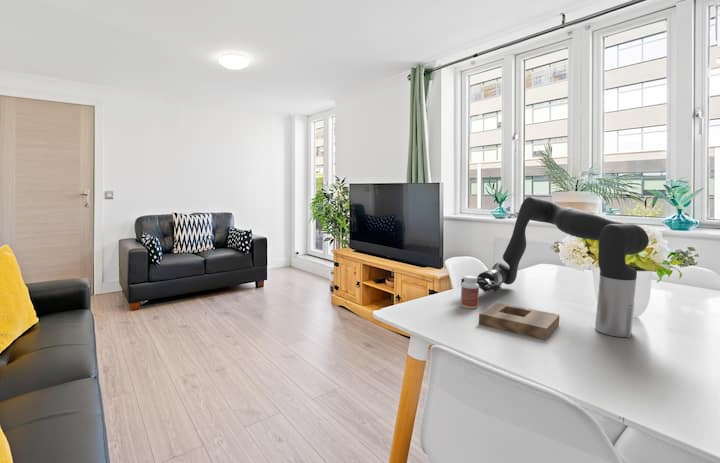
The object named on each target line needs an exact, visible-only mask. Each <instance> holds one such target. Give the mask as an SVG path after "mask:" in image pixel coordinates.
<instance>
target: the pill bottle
mask: <svg viewBox="0 0 720 463" xmlns="http://www.w3.org/2000/svg"><path fill="white" fill-rule="evenodd" d="M477 277H478V276H475V275H464V276H463V278H464V282H463V283H462V286H461V288H460V289H461V291H460V306H461V307H462V308H465V309H470V310H471V309H476V308H478V307H479V294H480V288H479V285H478V283H476V282H477Z"/></svg>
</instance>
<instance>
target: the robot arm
mask: <svg viewBox="0 0 720 463" xmlns="http://www.w3.org/2000/svg"><path fill="white" fill-rule="evenodd" d="M530 221H532V222H538V223H545V224H546V223H547V224H550V225H554V226H556V228H557V229H558V230H560V231H561V233H562V232H563V233H565V234H567V235H570V236H572V237H575V238H578V239H585V240H592V241H598V255H597V256H598V258H597V262H598V263H597V264H598V268H599V280H598V291H597V292H598V293H597V304H596V314H595V315H596V316H595V325H594V326H595V327H594V328H595V329H594V330H596V331H597V332H599V333H601V334H604V335H607V336H612V337H616V338H617V337H618V338H631V335H632V330H633V321H634V320H633V319H634V312H635V311H634V310H635V296H636V285H637V278H638V276H637V274H638V271H637V269H636V268H634V267H632V266H630V265H628V264H627V263H626V256H627V255H629V256H630V255H635V254H639V253H642V252H643V251H645V250H646V249H647V248H648V246H649V243H650V241H649V240H650V239H649V235H648V234H647V232H646V230H644V228H642V226H640V225H638V224H634V223H633V224H632V223H627V222H626V223H625V222H621V221H615V220H611V219H608V218H605V217H602V216H599V215H597V214H593V213H590V212H587V211H584V210H581V209H578V208H574V207H568V206H567V207H566V206H560V205H559V204H556V203H554V202H552V201H550V200H548V199H546V198H539V197H535V196H528V197H526V198H524V200H523V201H522V202H521V205H520V208H519V210H518V214H517V217H516V221H515V224H514V227H513V231H512V234H511V237H510V240H509V242H508V244H507V246H506V248H505V251H504V252H503V254H502V260H503V261H504V262H505V263H506V264H507V265H506V264H504V263H502V262H495V264H493V266H492V268H491V269H488V270H485V271H483V272H481V273H479V274H478V275H477V276H476V277H477V282H476V283H478V285H479V290H482V291H483V293H487V292H492V291H494V292H498V291H500V290H502V284H505V285H508V286H509V285H512V284H514V283H515V281H516V279H517V276H518V275H517V274H518V269H519V264H520V261H521V260H522V257H523V256H524V254H525V252H526V248H527V239H526V238H527V237H526V230H527V226H528V224H529V223H530ZM463 282H464V277H463V278H461V284H460V285H461V286H462V283H463Z"/></svg>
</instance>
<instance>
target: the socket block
mask: <svg viewBox="0 0 720 463" xmlns="http://www.w3.org/2000/svg"><path fill="white" fill-rule="evenodd" d="M478 325H480V326H484V327H489V328H493V329H498V330H502V331H506V332H510V333H514V334H519V335H521V336H522V335H523V336H526V337H531V338H535V339H538V340H539V339H540V340H543V341H547V340H548V339H549V338H550V337H551V335H552V334H553V333H554V332H555V330H557V328H558V327H559V325H560V314H557V313H553V312H552V313H551V312H548V311H543V310H542V311H541V310H538V309H531V308H527V307H522V306H517V305H511V304H506V303H501V302H495V303H494V304H493V305H490V306H489V307H487V308H486V309H485V310H483V311H481V312H479V313H478Z"/></svg>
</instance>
